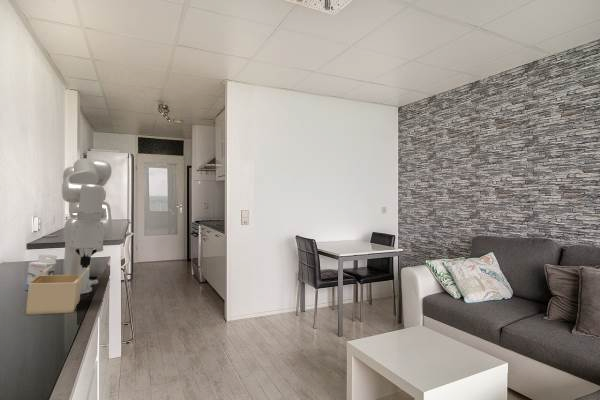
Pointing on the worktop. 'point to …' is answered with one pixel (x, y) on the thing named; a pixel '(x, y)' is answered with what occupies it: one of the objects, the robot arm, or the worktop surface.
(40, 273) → the flap
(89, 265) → the flap
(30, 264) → the ink box
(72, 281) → the carton
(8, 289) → the worktop surface
